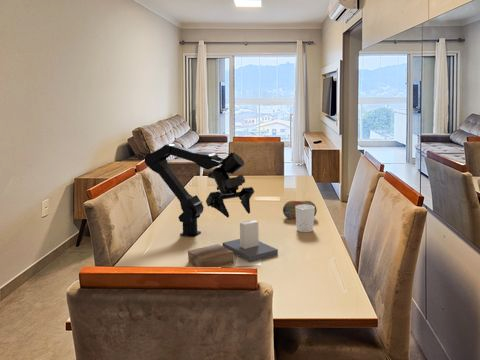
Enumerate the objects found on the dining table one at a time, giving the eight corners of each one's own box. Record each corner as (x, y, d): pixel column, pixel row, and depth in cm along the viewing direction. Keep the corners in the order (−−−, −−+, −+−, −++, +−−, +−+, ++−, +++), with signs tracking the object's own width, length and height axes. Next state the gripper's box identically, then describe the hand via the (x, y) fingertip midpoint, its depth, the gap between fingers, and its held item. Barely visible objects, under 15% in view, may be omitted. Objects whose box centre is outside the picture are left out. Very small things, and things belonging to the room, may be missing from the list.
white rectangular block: (240, 246, 165) (239, 222, 163) (253, 243, 168) (253, 219, 166) (244, 248, 162) (244, 224, 161) (258, 245, 166) (258, 221, 164)
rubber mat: (222, 247, 170) (222, 242, 170) (249, 241, 176) (249, 236, 176) (249, 262, 155) (249, 256, 155) (277, 254, 161) (277, 249, 161)
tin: (282, 219, 207) (282, 201, 205) (283, 217, 210) (283, 199, 208) (316, 220, 204) (316, 201, 203) (316, 218, 207) (316, 200, 206)
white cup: (291, 230, 190) (291, 207, 188) (302, 226, 195) (302, 203, 193) (307, 234, 184) (307, 210, 182) (318, 229, 190) (318, 206, 188)
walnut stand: (188, 261, 156) (187, 250, 156) (218, 254, 163) (218, 243, 162) (202, 270, 148) (201, 259, 147) (233, 263, 155) (233, 251, 154)
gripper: (208, 171, 165) (224, 206, 158) (251, 165, 175) (268, 199, 168) (199, 188, 173) (214, 223, 166) (240, 182, 183) (256, 215, 176)
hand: (239, 214), depth 169 cm, fingers open, 9 cm apart
